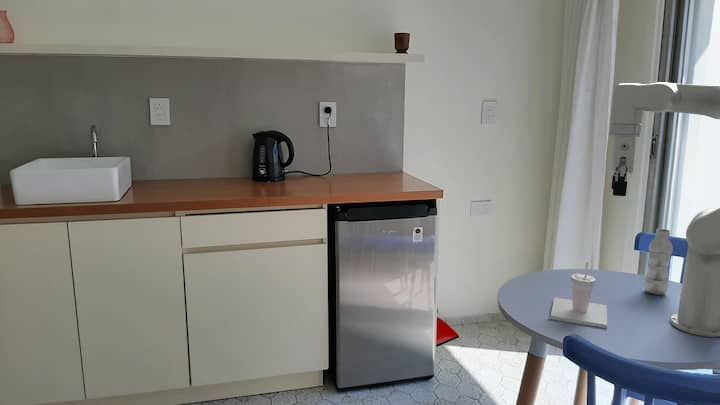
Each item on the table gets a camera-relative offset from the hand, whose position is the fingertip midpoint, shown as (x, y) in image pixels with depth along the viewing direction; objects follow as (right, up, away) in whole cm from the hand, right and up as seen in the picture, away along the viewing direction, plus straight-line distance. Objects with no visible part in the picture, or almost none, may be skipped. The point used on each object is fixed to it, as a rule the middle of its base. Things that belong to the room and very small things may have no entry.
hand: (618, 192), depth 147 cm
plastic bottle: (+19, -31, +16) cm, 40 cm away
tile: (-10, -34, +1) cm, 35 cm away
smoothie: (-10, -33, +1) cm, 35 cm away
